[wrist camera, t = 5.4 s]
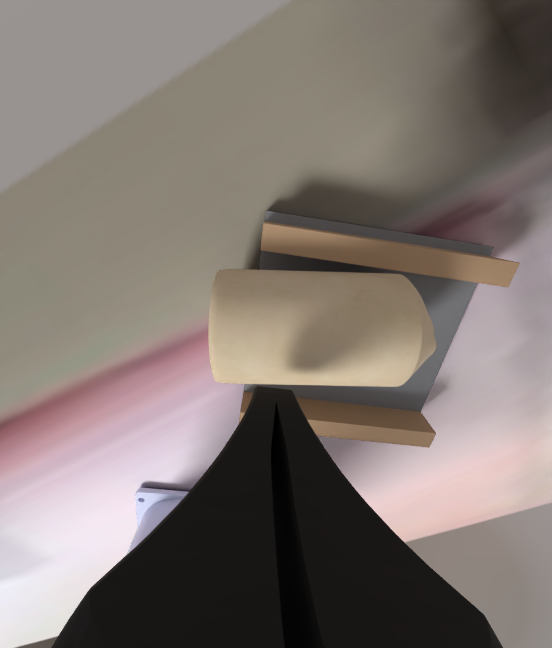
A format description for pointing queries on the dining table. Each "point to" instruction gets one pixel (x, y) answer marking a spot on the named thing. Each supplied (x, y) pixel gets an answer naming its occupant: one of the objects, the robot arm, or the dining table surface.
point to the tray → (393, 258)
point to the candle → (317, 328)
